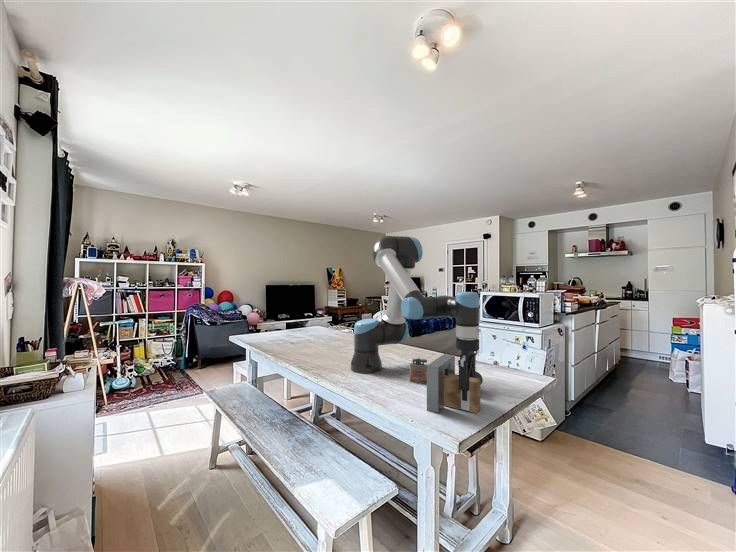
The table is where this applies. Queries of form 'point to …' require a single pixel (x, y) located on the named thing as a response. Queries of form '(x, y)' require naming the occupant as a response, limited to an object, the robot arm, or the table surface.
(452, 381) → the plug
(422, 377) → the lighter
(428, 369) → the housing
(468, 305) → the robot arm
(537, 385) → the table surface
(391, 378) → the table surface
